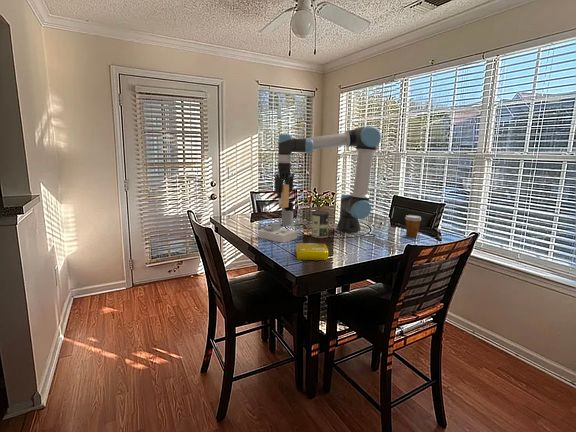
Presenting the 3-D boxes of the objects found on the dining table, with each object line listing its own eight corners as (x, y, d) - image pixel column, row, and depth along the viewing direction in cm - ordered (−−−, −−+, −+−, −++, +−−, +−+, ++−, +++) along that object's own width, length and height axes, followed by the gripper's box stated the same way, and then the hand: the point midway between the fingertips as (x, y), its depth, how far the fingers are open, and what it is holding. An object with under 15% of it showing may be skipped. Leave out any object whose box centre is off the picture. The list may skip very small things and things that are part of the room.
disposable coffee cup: (420, 234, 213) (422, 215, 210) (419, 238, 204) (421, 218, 202) (404, 232, 217) (406, 214, 214) (402, 236, 208) (404, 216, 206)
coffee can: (328, 234, 210) (329, 211, 207) (327, 238, 200) (328, 214, 197) (312, 233, 212) (312, 210, 209) (309, 237, 202) (310, 213, 199)
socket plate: (297, 237, 200) (297, 231, 199) (282, 242, 189) (283, 235, 188) (273, 232, 210) (273, 226, 209) (258, 237, 199) (258, 230, 198)
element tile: (325, 251, 176) (325, 242, 175) (328, 260, 161) (329, 251, 160) (296, 251, 176) (296, 242, 175) (296, 260, 161) (297, 250, 160)
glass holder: (279, 223, 236) (279, 202, 233) (298, 222, 240) (299, 201, 237) (283, 226, 228) (283, 204, 225) (303, 225, 232) (303, 203, 229)
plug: (283, 206, 200) (284, 184, 198) (288, 207, 197) (289, 184, 195) (278, 206, 198) (279, 184, 195) (283, 207, 195) (283, 185, 192)
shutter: (280, 229, 202) (280, 222, 201) (272, 231, 197) (272, 224, 196) (271, 227, 206) (271, 220, 205) (263, 229, 201) (263, 222, 200)
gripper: (277, 162, 184) (276, 205, 189) (300, 162, 195) (298, 203, 200) (268, 162, 190) (267, 203, 194) (291, 162, 201) (290, 201, 205)
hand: (283, 203), depth 197 cm, fingers closed on plug, 4 cm apart
